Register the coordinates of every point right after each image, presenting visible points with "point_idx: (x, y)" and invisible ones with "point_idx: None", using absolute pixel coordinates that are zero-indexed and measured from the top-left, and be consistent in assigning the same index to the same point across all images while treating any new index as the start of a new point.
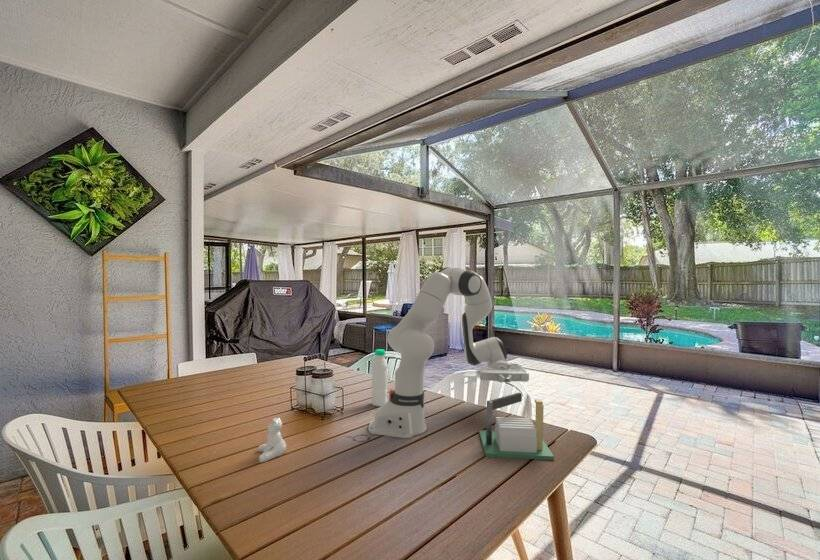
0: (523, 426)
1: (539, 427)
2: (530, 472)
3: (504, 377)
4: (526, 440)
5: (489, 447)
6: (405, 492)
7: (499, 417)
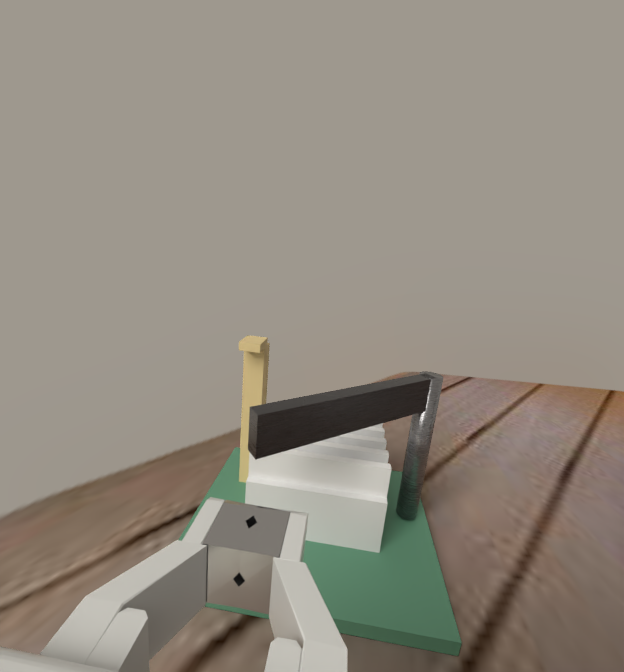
0: None
1: None
2: None
3: (284, 526)
4: None
5: None
6: (532, 422)
7: (376, 465)
